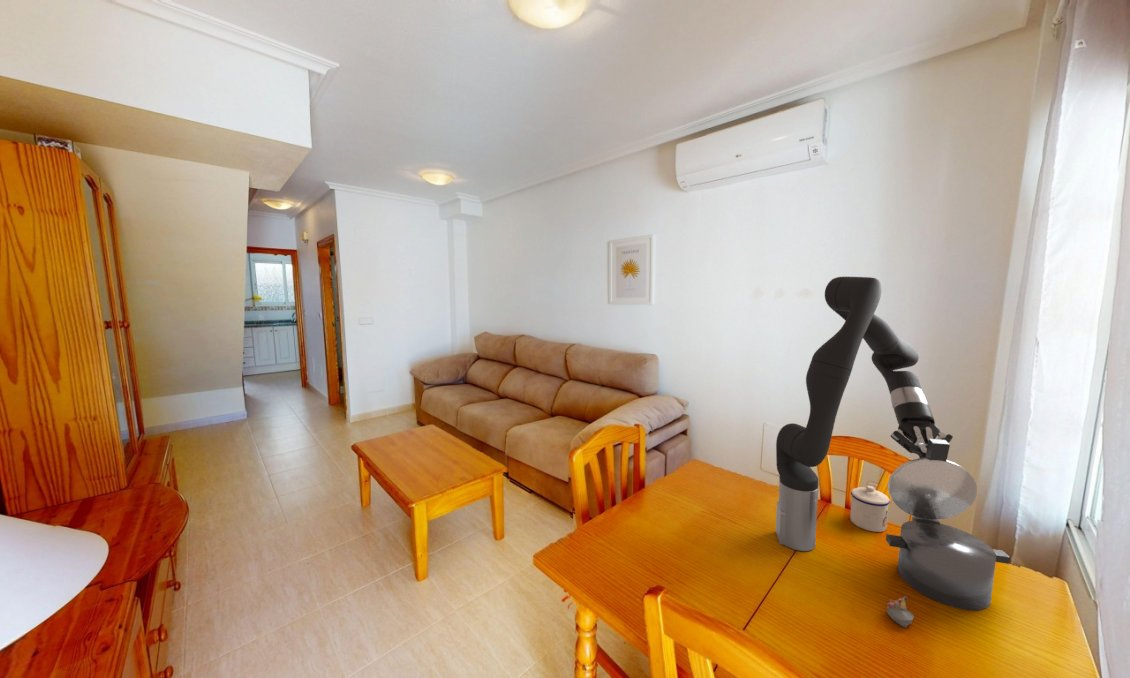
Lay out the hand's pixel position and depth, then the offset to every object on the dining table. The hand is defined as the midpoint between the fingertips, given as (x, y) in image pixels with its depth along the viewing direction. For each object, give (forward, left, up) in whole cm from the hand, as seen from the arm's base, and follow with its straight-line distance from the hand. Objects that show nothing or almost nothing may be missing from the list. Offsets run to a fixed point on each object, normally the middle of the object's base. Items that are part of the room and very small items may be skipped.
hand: (931, 469), depth 98 cm
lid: (0, -1, -3) cm, 3 cm away
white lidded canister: (-7, +16, -25) cm, 30 cm away
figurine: (-14, -23, -25) cm, 37 cm away
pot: (0, -8, -25) cm, 26 cm away
